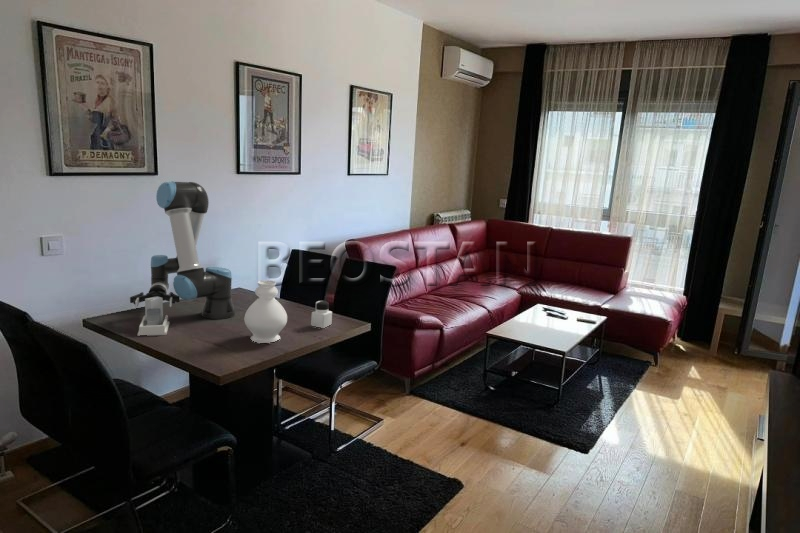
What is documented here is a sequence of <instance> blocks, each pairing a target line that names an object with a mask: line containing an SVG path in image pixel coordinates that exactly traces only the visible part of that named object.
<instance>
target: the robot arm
mask: <svg viewBox="0 0 800 533" xmlns="http://www.w3.org/2000/svg"><path fill="white" fill-rule="evenodd" d="M155 198H156V203H157V205H158V207H159V208H162V209H164V213H165V214H166V215H167V216H169V221H170V222H169V223H170V225H171V227H170V228H171V231H172V236H173V243H174V246H175V252H176V257H171V258H170V257H168V256H167V255H165V254H154V255H153V256H151V258H150V273H151V277H150V284H151V285H150V288H149V290H148V292H147V293H144V292H140V293H138V294H136V295H133V296H132V295H131V296H130V297H129V302H130V304H133V305H134V306H135V307H134V308H138V307H139V305H140V303H143V302H145V299H146V298H151V297H156V296H158V297H161V298H163V302H165V301H166V302H169V307H170V308H172V306H173V304H176V303H180V299H182V300H189V301H190V300H195V299H199V298H203V297H204V298H205V301H204V304H203V306H202V308H201V316H202V317H203V318H206V319H213V320H221V319H230V318H232V317H234V316H235V314H236V309H235V306H234V304H233V300H232V280H233V278H232V271H231V270H230V269H229V268H226V267H219V266H207V267H206V268H205V269H204V266H202V265H201V264H200V261H199V257H198V252H197V242H198V238H199V236H200V231H201V228H202V224H203V219H204V215H205V214H207V212H208V209H209V203H210V202H209V196H208V192H207V191H206V190H205V188H204V187H203V186H202V185H201V184H199V183H197V182H193V181H188V182H187V181H165V182H163V183H160V185H159V186H158V188H157V191H156V197H155ZM170 274H176V275H175V277H174V278H173V281H172V286H173V289H174V292H175V293H174V292H172V291H170V292H169V293H168V290H169V287H170V285H169V275H170Z"/></svg>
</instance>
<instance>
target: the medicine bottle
mask: <svg viewBox="0 0 800 533" xmlns="http://www.w3.org/2000/svg"><path fill="white" fill-rule="evenodd" d="M329 304H330V303H329V301H326V300H318V301H316V302H315V310H314V311H312V312H311V316H310V317H311V320H310V321H311V322H310V326H311V325H312V326H316V327H321V328H325V327H327V326H329V325H331V324H332V322H333V321H332V320H333V311H331V310H329V308H330V305H329ZM332 325H333V324H332ZM332 325H331V326H332ZM316 327H315V328H316ZM327 328H328V327H327ZM325 329H326V328H325Z"/></svg>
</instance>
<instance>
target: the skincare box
mask: <svg viewBox="0 0 800 533" xmlns="http://www.w3.org/2000/svg"><path fill="white" fill-rule="evenodd" d="M144 306H145V307H144V309H145V313H144V314H145V320H146V325H147V309H161V324H163V319H164V301H163V298H161V297H158V296H156V297H151V298H146V299H145V301H144Z"/></svg>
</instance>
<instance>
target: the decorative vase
mask: <svg viewBox="0 0 800 533" xmlns="http://www.w3.org/2000/svg"><path fill="white" fill-rule="evenodd" d="M257 285H258V287H256V288H255V290H254V293H255V295H256V297H258V298H256V299H255V301H254V302H253V303H252V304H250V306H249V307H248V308H247V310H246V312H245V313H244V318H243V319H244V320H243V321H244V324H245V326H246V327H247V330H249V332H250V333H251V334H252V335H251V336H250V339H251V340H252V341H251V340H250V341H251V342H253V341H254V342H253V343H255V342H257V343H256V344H260V343H269V344H271V343H270V342H275V341H277V340H279V339H280V340H281V336H280V335H279V334H280V332H282V330H283V329H284V328H285V326H286V325H287V322H288V314H287V311H286V310H285V308H284V306H283V305H282V304H281V303H280V302H279V301H278V300H277V299H276V298H275V297H276V296H277V295H279V290H278V288H277V287H276V285H277V282H276V281H275V280H270V279H269V280H266V279H265V280H258V281H257ZM280 340H279V341H280ZM275 343H276V342H275Z"/></svg>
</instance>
